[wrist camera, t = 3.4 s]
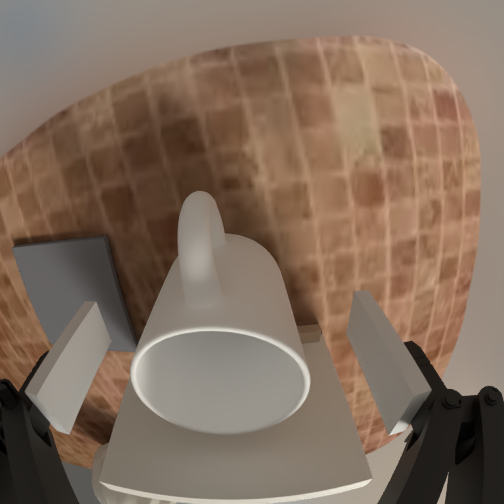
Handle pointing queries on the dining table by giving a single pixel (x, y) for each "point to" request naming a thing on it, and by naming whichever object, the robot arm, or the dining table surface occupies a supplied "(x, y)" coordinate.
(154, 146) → the dining table surface
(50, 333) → the pad
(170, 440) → the screen
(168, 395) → the mug
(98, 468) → the vase
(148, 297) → the dining table surface
